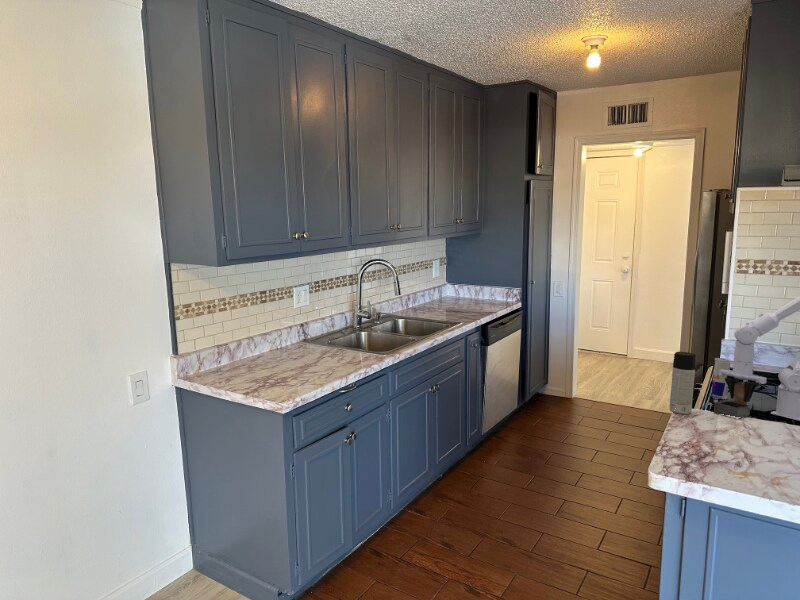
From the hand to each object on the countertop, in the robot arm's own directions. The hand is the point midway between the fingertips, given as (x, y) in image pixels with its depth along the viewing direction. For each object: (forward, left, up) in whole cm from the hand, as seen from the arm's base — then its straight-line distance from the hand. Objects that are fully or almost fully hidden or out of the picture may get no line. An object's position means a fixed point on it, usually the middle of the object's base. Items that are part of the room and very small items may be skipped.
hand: (740, 399), depth 192 cm
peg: (0, 0, -2) cm, 2 cm away
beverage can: (+11, -8, -4) cm, 14 cm away
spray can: (+8, +22, -4) cm, 24 cm away
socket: (-2, +9, -3) cm, 10 cm away
